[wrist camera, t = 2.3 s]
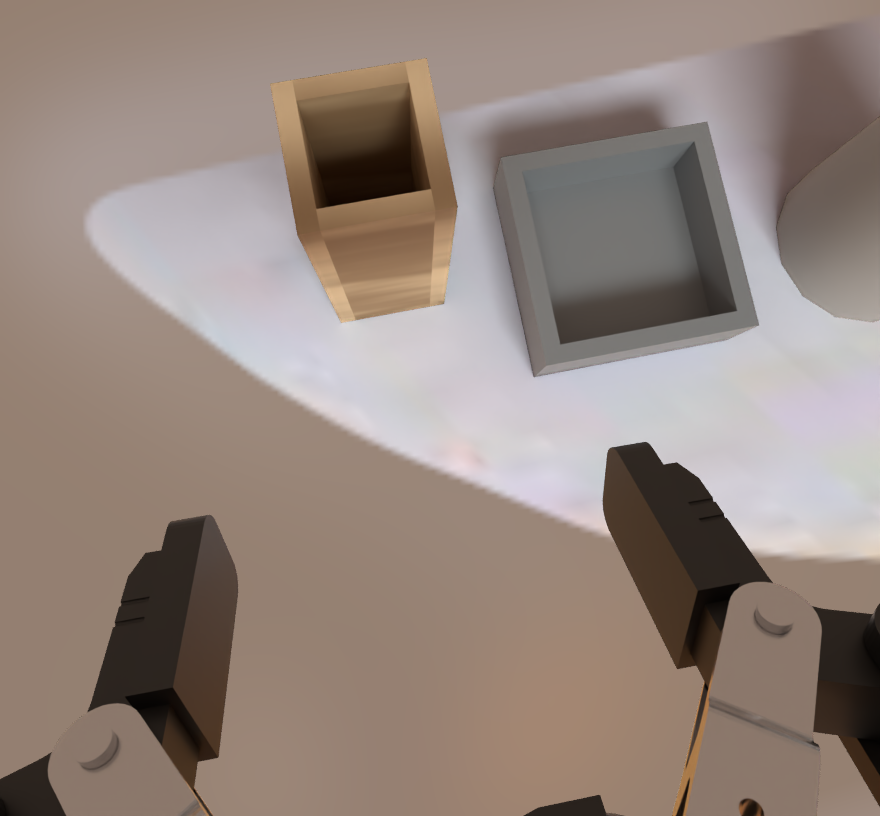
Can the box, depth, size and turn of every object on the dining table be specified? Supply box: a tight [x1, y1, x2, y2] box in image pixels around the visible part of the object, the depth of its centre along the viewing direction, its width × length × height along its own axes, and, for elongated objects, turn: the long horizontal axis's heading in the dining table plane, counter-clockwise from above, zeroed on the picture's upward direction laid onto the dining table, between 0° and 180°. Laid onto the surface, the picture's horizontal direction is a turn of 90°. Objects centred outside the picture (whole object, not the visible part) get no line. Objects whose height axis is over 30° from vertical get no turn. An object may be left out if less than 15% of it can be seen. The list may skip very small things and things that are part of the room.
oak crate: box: [270, 58, 458, 323], centre depth 25 cm, size 5×5×11 cm
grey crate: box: [493, 122, 759, 377], centre depth 30 cm, size 10×10×3 cm
